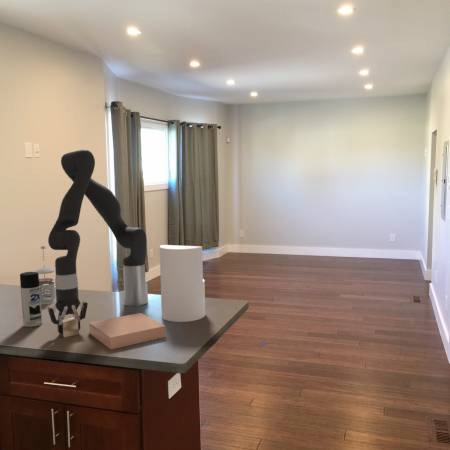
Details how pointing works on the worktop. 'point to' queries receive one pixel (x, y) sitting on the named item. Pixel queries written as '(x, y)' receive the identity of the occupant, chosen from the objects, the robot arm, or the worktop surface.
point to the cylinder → (182, 283)
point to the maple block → (70, 327)
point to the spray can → (30, 299)
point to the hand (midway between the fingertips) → (69, 332)
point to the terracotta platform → (126, 330)
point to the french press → (46, 297)
